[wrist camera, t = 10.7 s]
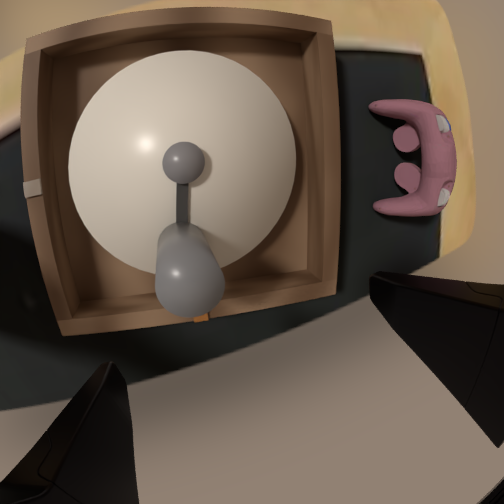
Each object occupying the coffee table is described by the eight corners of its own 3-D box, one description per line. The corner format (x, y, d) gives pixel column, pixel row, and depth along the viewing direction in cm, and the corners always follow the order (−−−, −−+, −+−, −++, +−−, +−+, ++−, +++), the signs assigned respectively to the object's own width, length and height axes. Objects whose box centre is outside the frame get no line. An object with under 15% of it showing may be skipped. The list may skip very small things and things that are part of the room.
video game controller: (388, 206, 26) (456, 217, 21) (368, 216, 23) (447, 230, 19) (384, 103, 23) (455, 104, 18) (363, 97, 20) (446, 95, 15)
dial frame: (74, 311, 19) (61, 337, 16) (44, 53, 13) (25, 37, 10) (314, 276, 24) (337, 295, 21) (308, 36, 18) (332, 20, 14)
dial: (82, 61, 13) (45, 18, 7) (294, 68, 17) (353, 37, 11) (81, 272, 18) (48, 329, 11) (280, 265, 22) (329, 313, 15)
